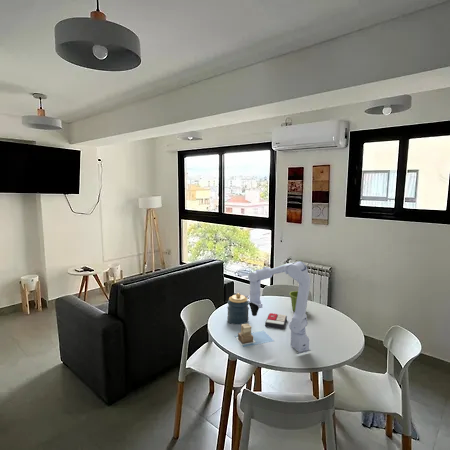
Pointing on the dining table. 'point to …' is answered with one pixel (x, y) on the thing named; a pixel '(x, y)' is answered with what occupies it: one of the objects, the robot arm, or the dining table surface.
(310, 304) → the dining table surface
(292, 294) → the plant pot
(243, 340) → the walnut base
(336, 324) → the dining table surface
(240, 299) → the canister
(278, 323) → the multicoloured piece
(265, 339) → the board
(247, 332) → the maple block
